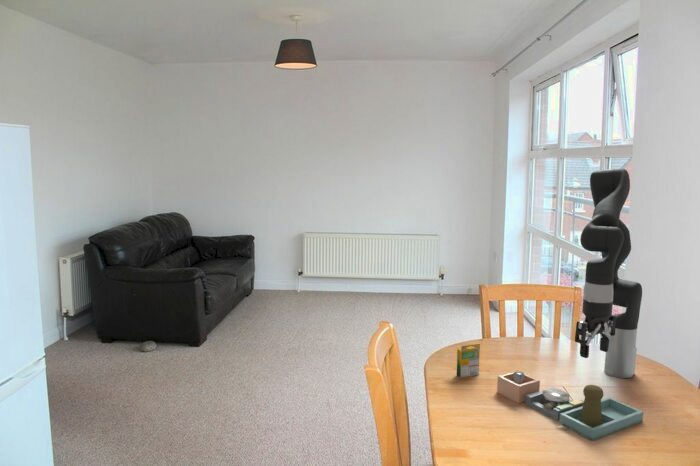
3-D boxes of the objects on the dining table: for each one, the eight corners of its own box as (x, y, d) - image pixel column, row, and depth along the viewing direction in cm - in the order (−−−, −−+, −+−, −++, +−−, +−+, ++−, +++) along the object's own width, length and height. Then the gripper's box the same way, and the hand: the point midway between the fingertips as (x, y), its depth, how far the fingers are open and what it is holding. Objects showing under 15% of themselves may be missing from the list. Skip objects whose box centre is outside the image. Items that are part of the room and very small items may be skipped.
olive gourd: (605, 429, 154) (608, 392, 152) (582, 427, 155) (585, 390, 153) (599, 419, 160) (602, 383, 158) (577, 417, 161) (579, 381, 159)
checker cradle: (552, 397, 175) (553, 386, 174) (585, 413, 165) (586, 401, 164) (525, 405, 169) (526, 394, 169) (557, 422, 159) (558, 410, 158)
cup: (517, 388, 182) (518, 370, 181) (538, 398, 174) (539, 380, 173) (496, 393, 177) (497, 375, 176) (518, 405, 170) (519, 386, 169)
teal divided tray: (608, 406, 169) (609, 396, 169) (642, 421, 160) (643, 411, 159) (559, 423, 158) (559, 413, 158) (592, 440, 149) (593, 430, 148)
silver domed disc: (553, 398, 172) (554, 386, 171) (574, 407, 165) (575, 396, 165) (536, 403, 168) (537, 391, 168) (556, 413, 162) (557, 401, 161)
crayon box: (474, 373, 194) (475, 341, 192) (479, 376, 191) (480, 344, 189) (456, 375, 192) (457, 343, 190) (460, 378, 189) (461, 346, 187)
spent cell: (517, 391, 178) (518, 370, 177) (525, 395, 175) (526, 374, 174) (510, 393, 176) (511, 372, 175) (517, 397, 173) (519, 376, 172)
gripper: (602, 291, 159) (598, 345, 162) (569, 298, 152) (565, 354, 155) (626, 297, 153) (622, 353, 156) (593, 305, 146) (589, 363, 149)
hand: (594, 354), depth 155 cm, fingers open, 8 cm apart
